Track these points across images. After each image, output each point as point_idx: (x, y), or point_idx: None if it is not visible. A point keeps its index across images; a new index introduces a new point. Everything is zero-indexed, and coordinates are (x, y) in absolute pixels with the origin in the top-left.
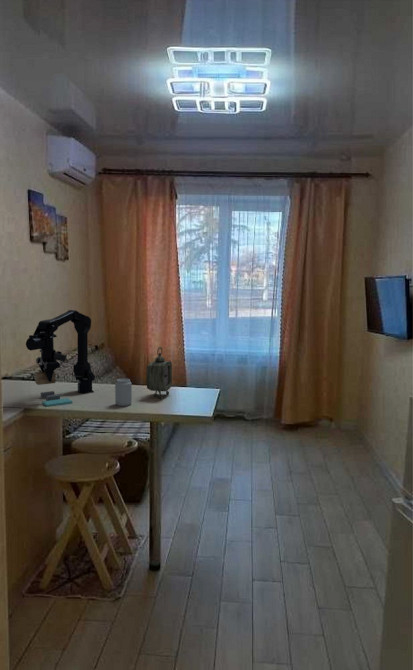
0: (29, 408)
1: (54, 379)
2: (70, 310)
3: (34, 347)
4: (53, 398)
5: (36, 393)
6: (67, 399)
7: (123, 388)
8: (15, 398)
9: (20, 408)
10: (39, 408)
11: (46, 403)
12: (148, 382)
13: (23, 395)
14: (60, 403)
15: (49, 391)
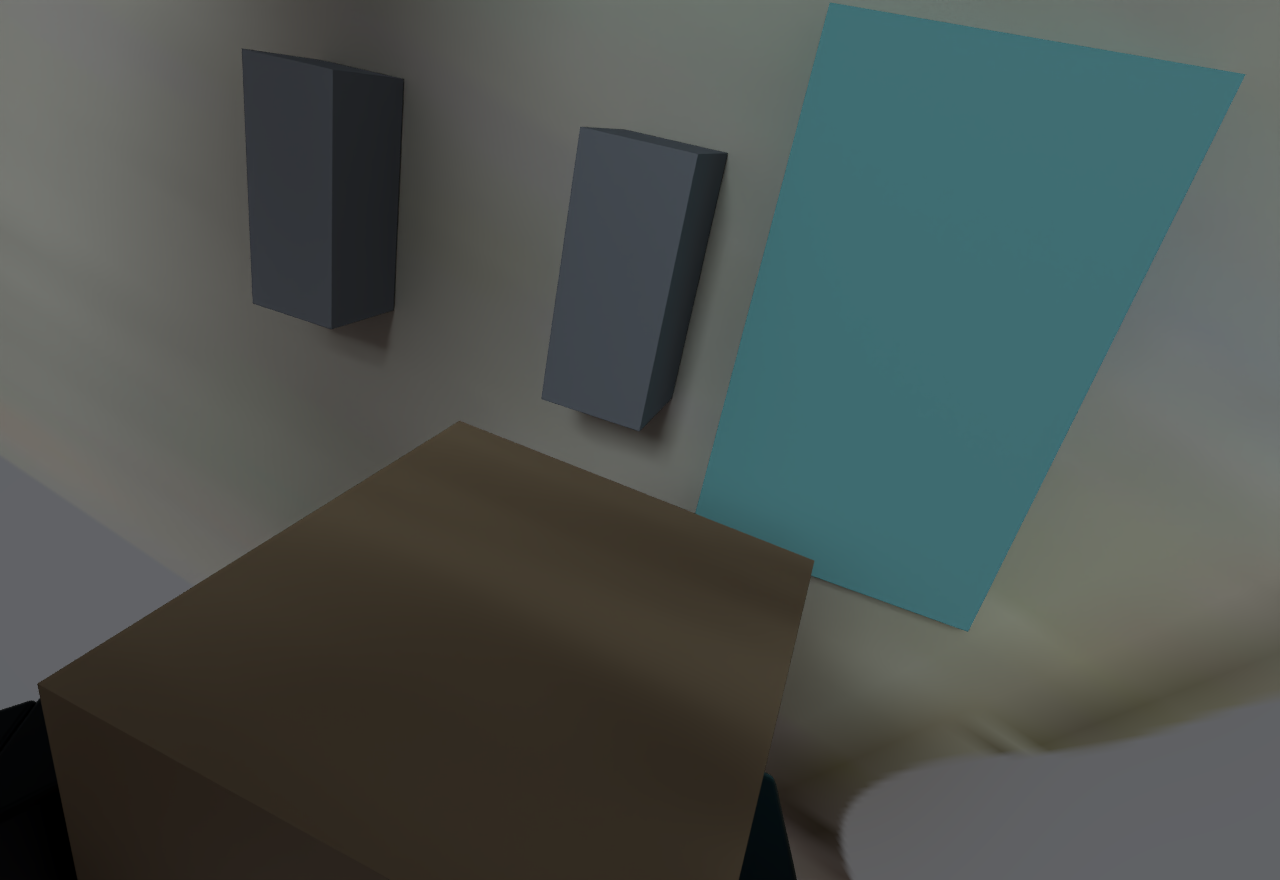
0: (819, 780)
1: (781, 690)
2: None
3: None
4: (679, 302)
5: (64, 181)
6: (955, 77)
7: None
8: (215, 534)
9: None
10: (950, 724)
11: (882, 580)
12: None
13: (111, 380)
14: (1085, 382)
15: (247, 127)
